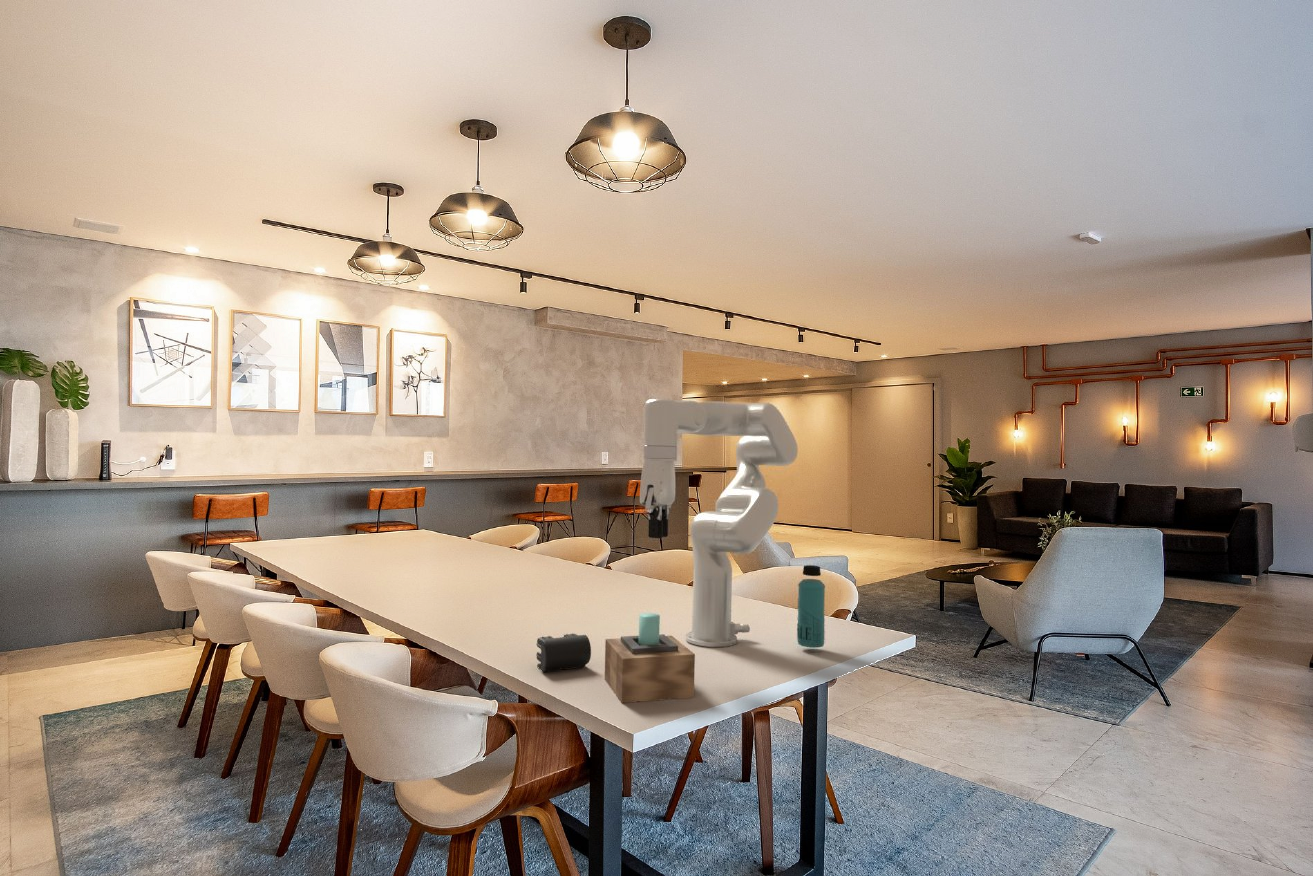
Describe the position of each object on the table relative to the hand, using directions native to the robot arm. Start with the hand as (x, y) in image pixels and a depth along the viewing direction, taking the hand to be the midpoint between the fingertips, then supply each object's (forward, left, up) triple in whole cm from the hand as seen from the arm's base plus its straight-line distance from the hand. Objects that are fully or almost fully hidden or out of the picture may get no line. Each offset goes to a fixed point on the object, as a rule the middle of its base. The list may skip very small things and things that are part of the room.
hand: (658, 536), depth 157 cm
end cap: (+21, +2, -27) cm, 35 cm away
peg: (+7, +18, -22) cm, 29 cm away
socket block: (+7, +18, -27) cm, 33 cm away
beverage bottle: (-38, +1, -27) cm, 47 cm away
